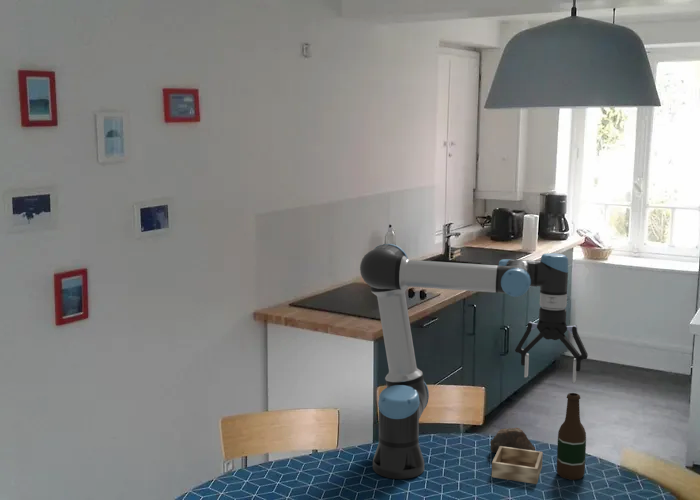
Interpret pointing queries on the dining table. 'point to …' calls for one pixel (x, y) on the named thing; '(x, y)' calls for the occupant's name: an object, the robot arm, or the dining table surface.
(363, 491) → the dining table surface
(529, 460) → the caddy
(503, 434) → the rock
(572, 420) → the beer bottle
